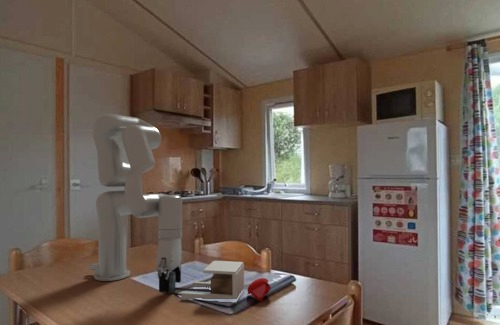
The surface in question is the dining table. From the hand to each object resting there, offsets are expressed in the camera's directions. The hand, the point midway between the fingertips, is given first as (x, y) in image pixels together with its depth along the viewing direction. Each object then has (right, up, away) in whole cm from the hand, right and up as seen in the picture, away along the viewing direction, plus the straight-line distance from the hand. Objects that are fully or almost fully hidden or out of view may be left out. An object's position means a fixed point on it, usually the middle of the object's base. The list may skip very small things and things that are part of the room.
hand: (170, 286), depth 114 cm
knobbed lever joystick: (+10, -1, -2) cm, 10 cm away
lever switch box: (+14, -2, -3) cm, 14 cm away
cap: (+28, -2, -5) cm, 29 cm away
